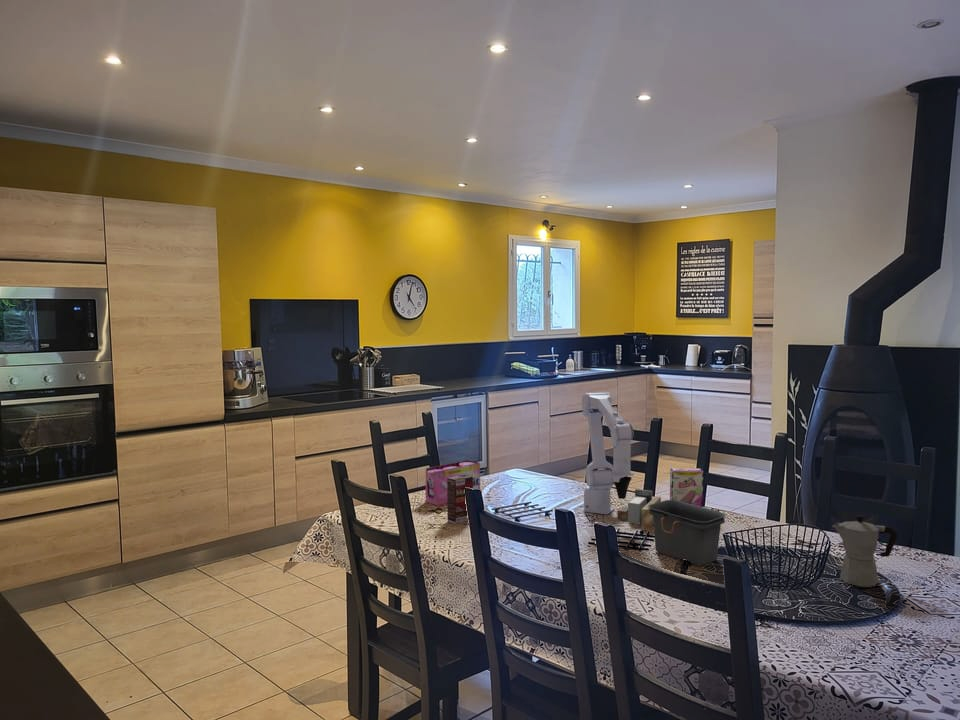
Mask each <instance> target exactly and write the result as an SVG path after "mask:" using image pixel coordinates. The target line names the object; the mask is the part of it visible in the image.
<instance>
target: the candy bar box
mask: <svg viewBox="0 0 960 720" xmlns="http://www.w3.org/2000/svg"><path fill="white" fill-rule="evenodd" d="M703 498H704V470H702V468H688V467H687V468H686V467H685V468H684V467H670V468H669V500H677V501H681V502H685V503H689V504H692V505H696V506H700V507H703V508H704V504H703V503H704V499H703Z"/></svg>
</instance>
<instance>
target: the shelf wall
mask: <svg viewBox="0 0 960 720" xmlns="http://www.w3.org/2000/svg"><path fill="white" fill-rule="evenodd" d="M661 501H662V496H654V497H652V500H651V501H650V502H649V503H648V504H647V505H646V506H644V507H643V508H642V522H641V530H645V531H648V530H649V529H650V528H651V527H652V526H654V522H653V515H651V514H650V513H649V510H650V508H649V507H648V506H649V505H650V504H654V503H658V502H661Z"/></svg>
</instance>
